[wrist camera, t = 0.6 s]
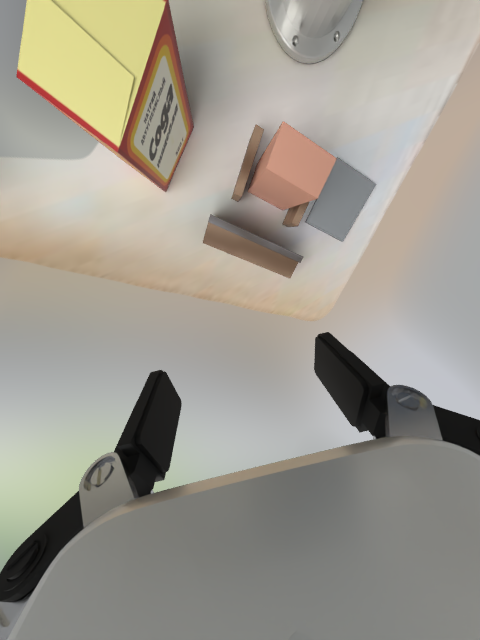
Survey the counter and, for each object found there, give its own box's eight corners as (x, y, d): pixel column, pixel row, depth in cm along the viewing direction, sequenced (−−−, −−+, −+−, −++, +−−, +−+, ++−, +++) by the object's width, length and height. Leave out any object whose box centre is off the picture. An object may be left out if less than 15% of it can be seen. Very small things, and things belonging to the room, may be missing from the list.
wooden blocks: (235, 131, 26) (242, 101, 20) (320, 184, 30) (346, 172, 24) (204, 241, 32) (202, 242, 26) (279, 271, 36) (291, 279, 30)
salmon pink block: (257, 163, 28) (283, 121, 17) (293, 184, 30) (336, 158, 19) (247, 191, 29) (266, 168, 19) (282, 210, 31) (317, 198, 21)
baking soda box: (148, 85, 23) (40, -157, 9) (193, 127, 25) (166, -10, 11) (123, 160, 26) (10, 72, 12) (165, 192, 28) (115, 150, 14)
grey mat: (335, 158, 29) (337, 157, 28) (373, 185, 31) (376, 184, 31) (305, 222, 33) (306, 221, 32) (341, 241, 35) (343, 241, 35)
